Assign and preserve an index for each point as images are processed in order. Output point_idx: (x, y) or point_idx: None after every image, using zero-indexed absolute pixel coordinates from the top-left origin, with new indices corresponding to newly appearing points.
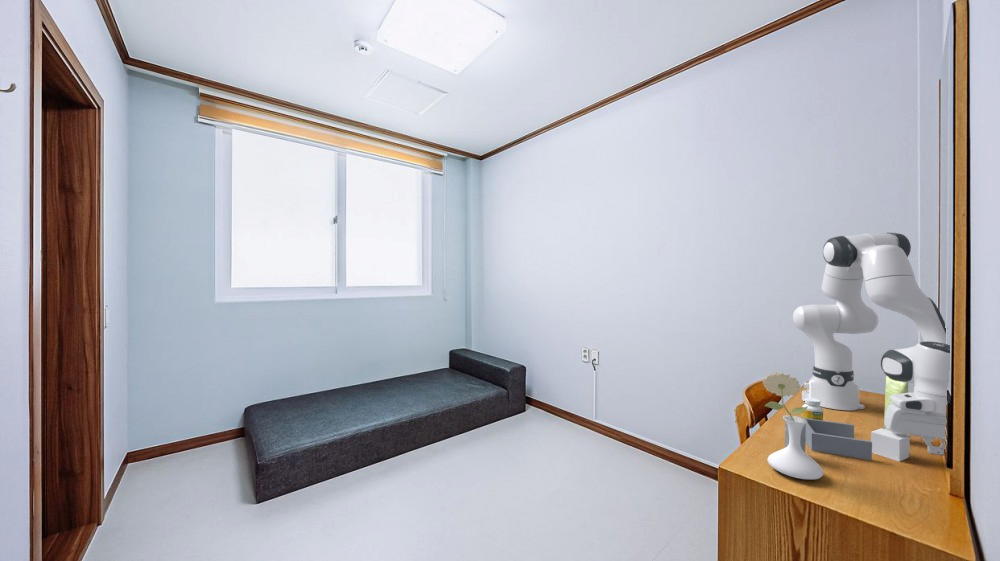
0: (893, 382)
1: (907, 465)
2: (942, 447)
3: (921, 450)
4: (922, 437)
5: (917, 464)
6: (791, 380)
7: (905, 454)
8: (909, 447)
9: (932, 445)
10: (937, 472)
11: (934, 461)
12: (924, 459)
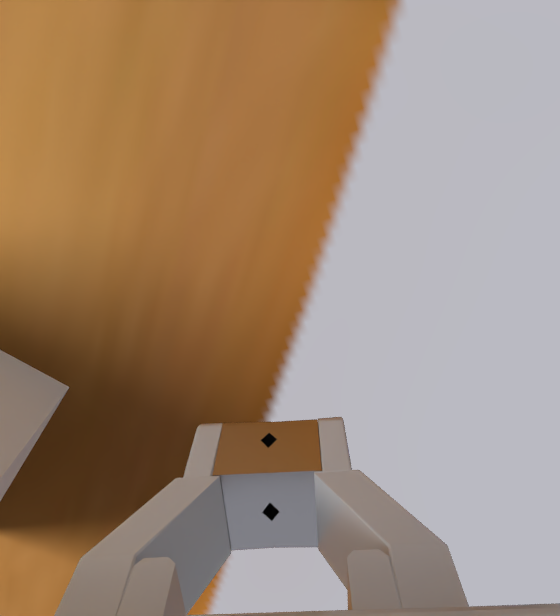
0: None
1: (31, 575)
2: (327, 540)
3: (245, 48)
4: (77, 590)
5: (103, 524)
6: None
7: (8, 480)
8: (12, 464)
9: (203, 589)
10: (201, 603)
11: (262, 386)
12: (188, 378)
